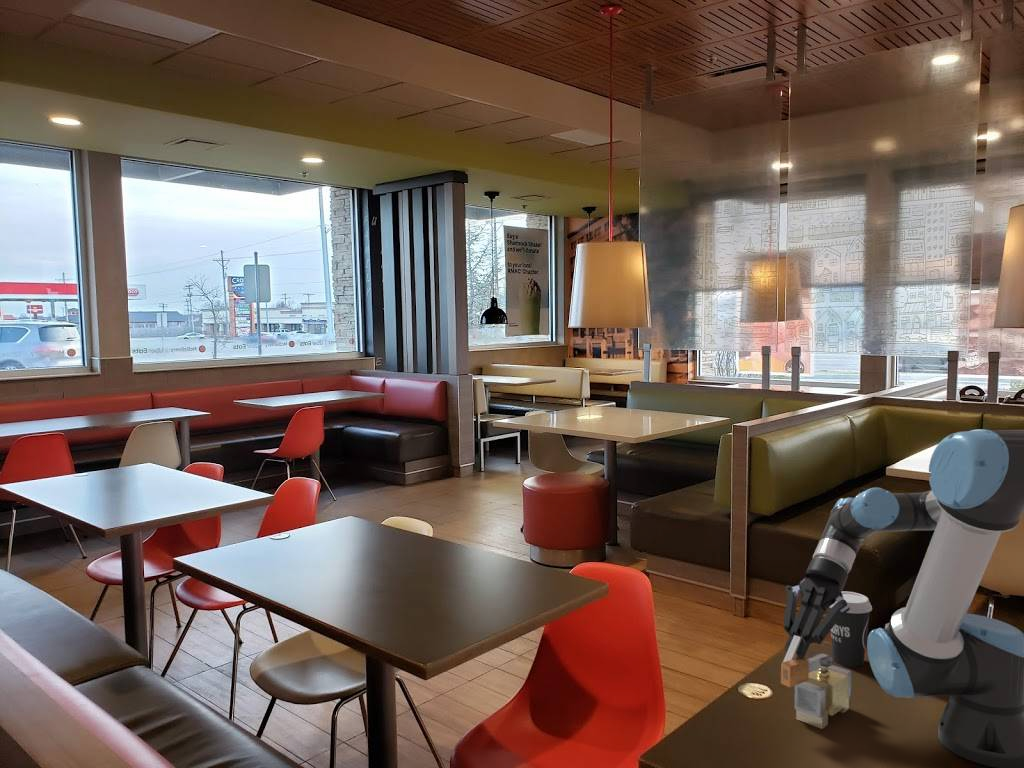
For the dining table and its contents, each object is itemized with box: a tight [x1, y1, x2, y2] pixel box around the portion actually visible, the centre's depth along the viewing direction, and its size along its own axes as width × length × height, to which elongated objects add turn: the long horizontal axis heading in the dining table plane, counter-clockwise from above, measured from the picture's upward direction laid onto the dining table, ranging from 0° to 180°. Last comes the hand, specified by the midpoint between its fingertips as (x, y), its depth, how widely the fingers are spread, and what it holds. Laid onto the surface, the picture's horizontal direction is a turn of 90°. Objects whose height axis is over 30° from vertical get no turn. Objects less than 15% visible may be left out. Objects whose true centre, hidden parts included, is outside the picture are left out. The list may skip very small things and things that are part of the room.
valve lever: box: [780, 653, 833, 688], centre depth 150 cm, size 13×3×4 cm, turn 122°
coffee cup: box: [828, 590, 873, 668], centre depth 178 cm, size 10×10×15 cm
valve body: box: [793, 664, 852, 730], centre depth 153 cm, size 13×7×9 cm, turn 132°
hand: (787, 668), depth 150 cm, fingers closed
